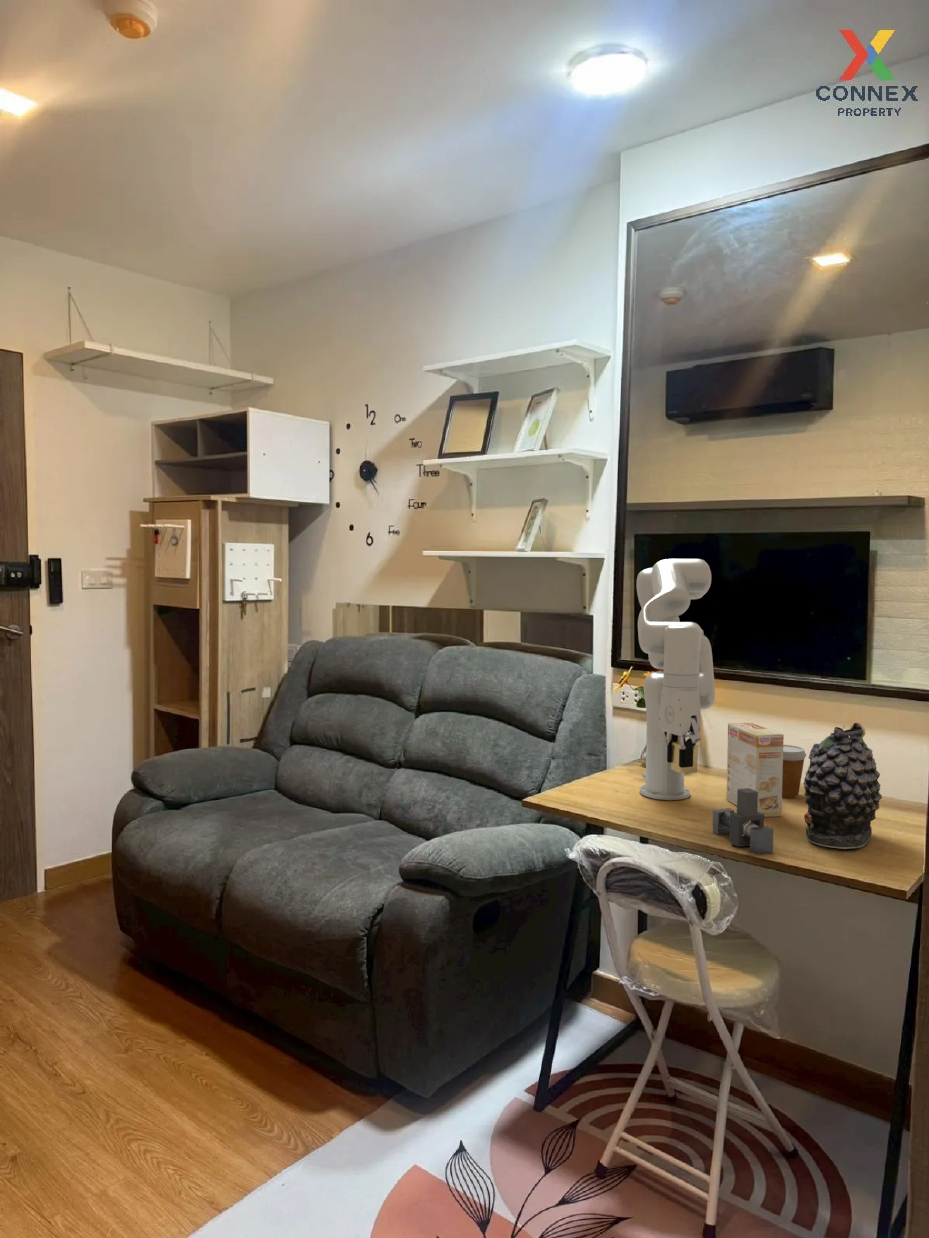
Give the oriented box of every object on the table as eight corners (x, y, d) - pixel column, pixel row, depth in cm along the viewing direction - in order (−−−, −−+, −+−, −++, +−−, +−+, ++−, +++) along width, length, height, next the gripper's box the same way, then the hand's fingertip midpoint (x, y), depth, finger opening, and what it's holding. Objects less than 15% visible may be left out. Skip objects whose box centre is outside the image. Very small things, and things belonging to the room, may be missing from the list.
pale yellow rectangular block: (670, 769, 183) (672, 742, 183) (686, 768, 184) (687, 741, 184) (681, 773, 179) (682, 745, 179) (696, 772, 181) (698, 745, 180)
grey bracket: (729, 841, 175) (730, 789, 174) (754, 838, 177) (755, 787, 176) (738, 846, 172) (739, 793, 171) (763, 843, 174) (764, 791, 173)
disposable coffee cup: (809, 800, 206) (810, 753, 206) (769, 798, 208) (770, 751, 207) (800, 790, 216) (801, 744, 215) (762, 788, 217) (763, 743, 216)
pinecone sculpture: (814, 820, 191) (817, 713, 189) (886, 832, 182) (890, 720, 181) (791, 845, 174) (794, 728, 172) (869, 860, 165) (874, 736, 164)
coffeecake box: (782, 816, 194) (785, 734, 192) (754, 817, 193) (756, 735, 191) (751, 798, 208) (753, 721, 207) (725, 799, 207) (726, 722, 206)
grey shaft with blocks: (712, 832, 183) (713, 809, 182) (728, 830, 184) (728, 807, 183) (756, 854, 168) (756, 830, 168) (772, 852, 170) (773, 828, 169)
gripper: (646, 677, 187) (645, 757, 188) (687, 687, 171) (686, 774, 172) (675, 676, 190) (673, 755, 191) (718, 686, 174) (717, 772, 175)
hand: (679, 763), depth 182 cm, fingers closed on pale yellow rectangular block, 4 cm apart
